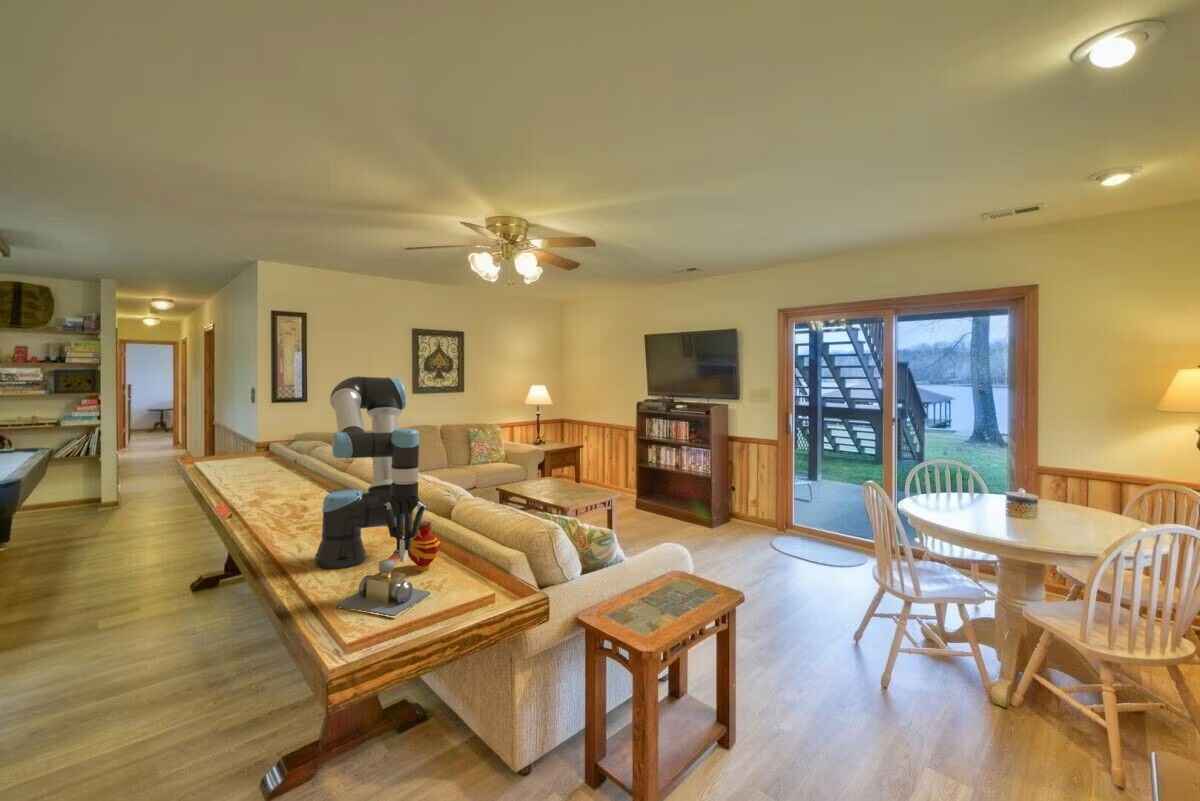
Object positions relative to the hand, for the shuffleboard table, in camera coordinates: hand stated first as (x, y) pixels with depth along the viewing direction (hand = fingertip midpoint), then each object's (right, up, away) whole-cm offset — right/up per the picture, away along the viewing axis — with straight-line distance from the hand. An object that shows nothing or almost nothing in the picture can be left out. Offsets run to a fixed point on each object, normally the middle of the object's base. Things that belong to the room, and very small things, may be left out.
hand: (403, 560), depth 152 cm
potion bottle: (0, -8, +17) cm, 18 cm away
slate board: (-2, -9, -9) cm, 12 cm away
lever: (-2, +1, -3) cm, 3 cm away
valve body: (-2, -9, -9) cm, 12 cm away
